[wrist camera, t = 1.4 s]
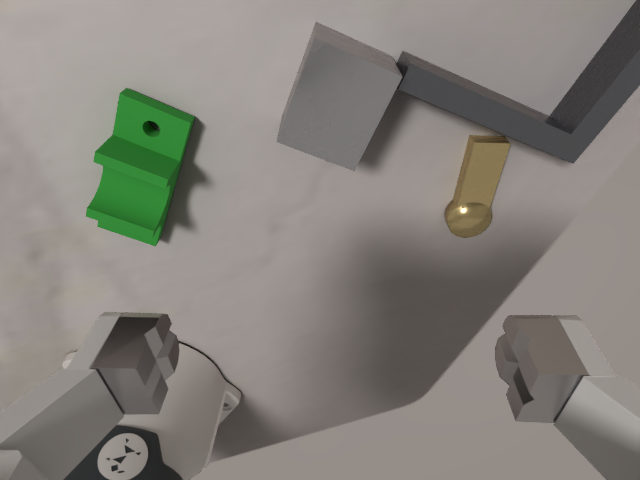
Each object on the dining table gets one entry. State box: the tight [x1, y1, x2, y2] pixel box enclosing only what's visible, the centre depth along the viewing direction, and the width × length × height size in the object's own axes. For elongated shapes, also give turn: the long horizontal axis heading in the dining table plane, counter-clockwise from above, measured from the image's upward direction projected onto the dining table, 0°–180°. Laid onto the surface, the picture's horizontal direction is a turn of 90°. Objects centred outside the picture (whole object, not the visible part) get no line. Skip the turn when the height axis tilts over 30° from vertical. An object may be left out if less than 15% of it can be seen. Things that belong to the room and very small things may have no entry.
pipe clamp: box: [86, 88, 195, 246], centre depth 28 cm, size 11×4×5 cm
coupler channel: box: [396, 0, 640, 163], centre depth 23 cm, size 12×12×3 cm
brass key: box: [444, 135, 511, 238], centre depth 30 cm, size 8×3×1 cm, turn 178°
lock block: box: [277, 22, 402, 171], centre depth 25 cm, size 6×5×4 cm
